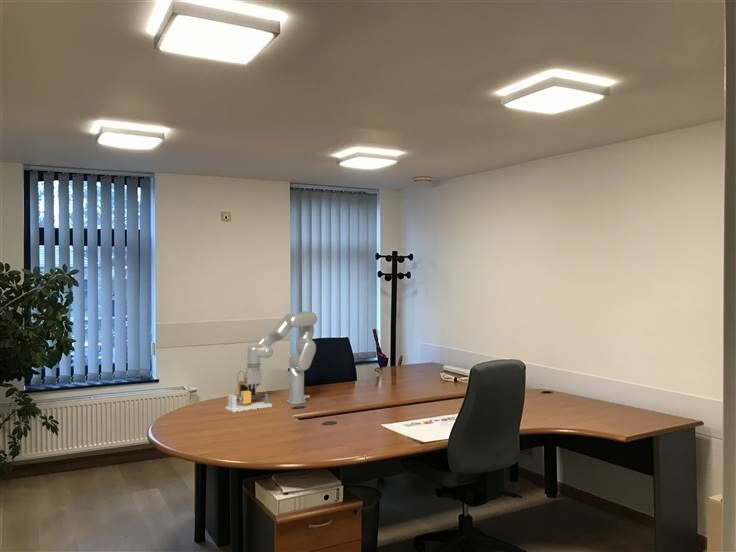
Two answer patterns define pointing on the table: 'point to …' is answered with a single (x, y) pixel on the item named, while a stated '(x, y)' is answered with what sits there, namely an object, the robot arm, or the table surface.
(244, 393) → the sleeve
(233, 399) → the board
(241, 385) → the multimeter
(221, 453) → the table surface
